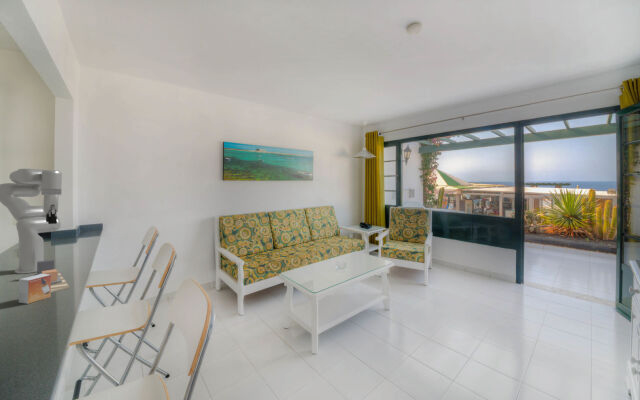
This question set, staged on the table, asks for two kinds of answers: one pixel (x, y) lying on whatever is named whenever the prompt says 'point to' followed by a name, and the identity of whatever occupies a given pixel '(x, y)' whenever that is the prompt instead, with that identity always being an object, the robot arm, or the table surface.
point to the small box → (34, 288)
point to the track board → (59, 284)
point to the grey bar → (46, 268)
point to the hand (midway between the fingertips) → (51, 222)
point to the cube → (52, 273)
